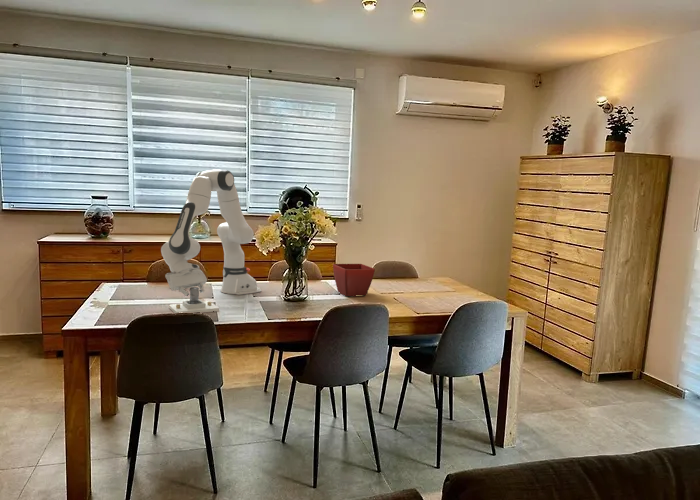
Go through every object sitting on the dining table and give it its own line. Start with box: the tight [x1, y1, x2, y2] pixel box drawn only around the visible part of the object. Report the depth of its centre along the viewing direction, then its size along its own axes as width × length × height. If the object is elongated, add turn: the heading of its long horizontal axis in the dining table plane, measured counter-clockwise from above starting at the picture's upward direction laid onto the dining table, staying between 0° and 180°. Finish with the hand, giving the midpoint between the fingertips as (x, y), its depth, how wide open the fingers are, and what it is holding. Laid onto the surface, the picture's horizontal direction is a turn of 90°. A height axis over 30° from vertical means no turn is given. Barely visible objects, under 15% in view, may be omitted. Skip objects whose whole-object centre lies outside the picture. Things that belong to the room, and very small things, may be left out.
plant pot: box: [332, 263, 376, 297], centre depth 289 cm, size 19×19×17 cm
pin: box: [189, 286, 200, 304], centre depth 237 cm, size 4×4×9 cm
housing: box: [168, 299, 220, 314], centre depth 237 cm, size 20×14×4 cm
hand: (195, 293), depth 236 cm, fingers open, 8 cm apart
